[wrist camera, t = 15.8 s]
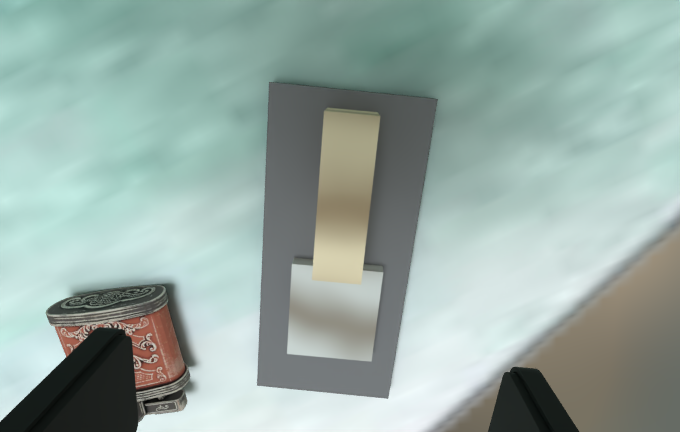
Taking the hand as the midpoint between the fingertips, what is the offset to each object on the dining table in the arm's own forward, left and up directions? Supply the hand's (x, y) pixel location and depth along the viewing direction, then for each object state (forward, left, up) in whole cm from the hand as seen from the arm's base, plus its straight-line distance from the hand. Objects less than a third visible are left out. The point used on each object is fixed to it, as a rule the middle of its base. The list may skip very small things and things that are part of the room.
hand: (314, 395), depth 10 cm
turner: (+2, 0, -17) cm, 17 cm away
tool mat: (+4, 0, -18) cm, 19 cm away
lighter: (+8, -15, -17) cm, 24 cm away
